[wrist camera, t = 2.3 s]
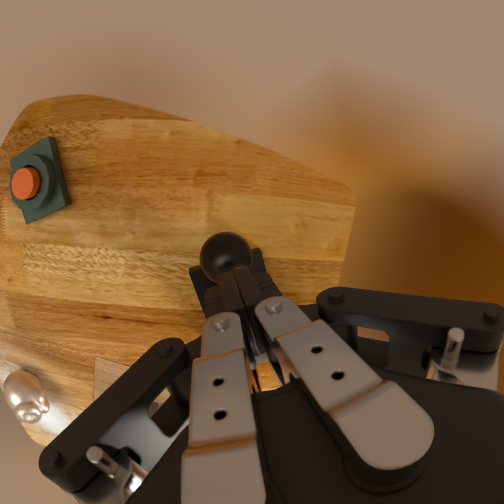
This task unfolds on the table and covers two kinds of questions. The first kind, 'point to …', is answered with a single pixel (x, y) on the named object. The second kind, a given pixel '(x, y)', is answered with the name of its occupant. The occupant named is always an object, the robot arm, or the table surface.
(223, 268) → the lever
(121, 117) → the table surface
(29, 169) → the button
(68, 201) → the button box
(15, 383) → the silver rounded lump
